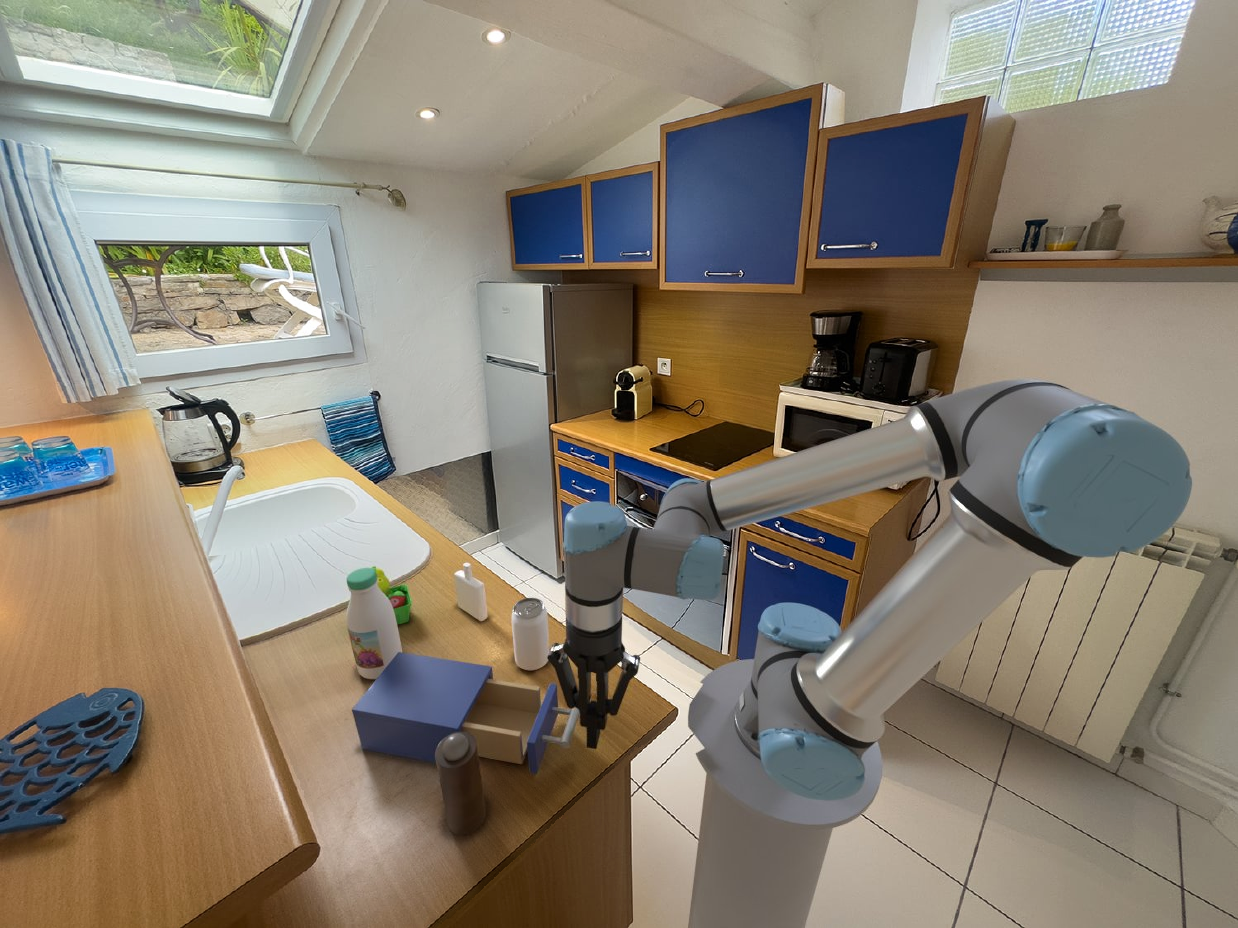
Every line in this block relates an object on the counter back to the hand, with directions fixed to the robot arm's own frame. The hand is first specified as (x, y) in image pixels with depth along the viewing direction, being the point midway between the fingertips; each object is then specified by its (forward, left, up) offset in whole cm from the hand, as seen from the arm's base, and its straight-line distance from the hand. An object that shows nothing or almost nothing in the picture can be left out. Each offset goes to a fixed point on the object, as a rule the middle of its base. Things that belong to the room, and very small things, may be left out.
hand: (593, 739), depth 74 cm
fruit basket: (+50, -21, -3) cm, 54 cm away
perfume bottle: (+33, -27, -3) cm, 43 cm away
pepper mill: (+15, +12, -3) cm, 19 cm away
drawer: (+13, 0, -2) cm, 13 cm away
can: (+16, -17, -3) cm, 23 cm away
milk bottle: (+43, -10, -3) cm, 44 cm away
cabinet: (+27, 0, -3) cm, 27 cm away
